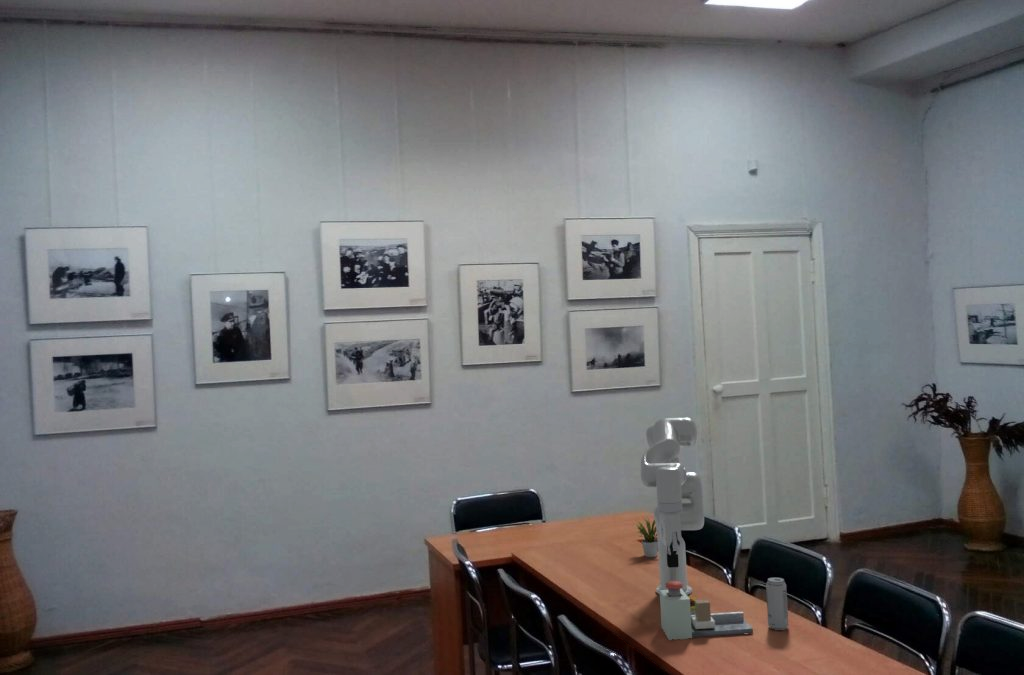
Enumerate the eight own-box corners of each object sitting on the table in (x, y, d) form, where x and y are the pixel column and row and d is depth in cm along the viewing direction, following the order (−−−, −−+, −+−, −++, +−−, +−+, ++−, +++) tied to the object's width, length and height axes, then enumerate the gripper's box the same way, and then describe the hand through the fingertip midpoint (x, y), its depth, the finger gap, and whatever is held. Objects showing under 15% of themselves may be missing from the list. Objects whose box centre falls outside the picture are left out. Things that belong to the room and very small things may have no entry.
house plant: (669, 550, 369) (667, 512, 369) (672, 559, 355) (670, 519, 355) (635, 551, 370) (633, 513, 370) (637, 559, 357) (635, 520, 357)
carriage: (691, 623, 271) (690, 599, 271) (711, 622, 271) (709, 598, 271) (695, 629, 266) (694, 604, 266) (715, 627, 266) (714, 603, 266)
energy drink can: (769, 624, 272) (766, 576, 272) (789, 625, 270) (786, 577, 270) (767, 630, 267) (764, 581, 267) (787, 632, 265) (785, 582, 265)
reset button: (664, 600, 271) (663, 581, 271) (681, 599, 271) (680, 580, 271) (668, 605, 266) (667, 586, 266) (685, 604, 266) (684, 585, 266)
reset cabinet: (661, 628, 274) (659, 590, 274) (683, 626, 274) (681, 588, 274) (669, 640, 263) (666, 600, 263) (691, 638, 263) (689, 599, 263)
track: (684, 627, 273) (683, 615, 273) (744, 623, 274) (743, 611, 274) (691, 637, 264) (690, 624, 264) (753, 633, 265) (752, 620, 265)
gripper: (653, 503, 276) (656, 561, 276) (662, 512, 261) (666, 573, 261) (676, 502, 276) (679, 560, 276) (687, 511, 261) (690, 572, 261)
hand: (673, 566), depth 268 cm, fingers closed
